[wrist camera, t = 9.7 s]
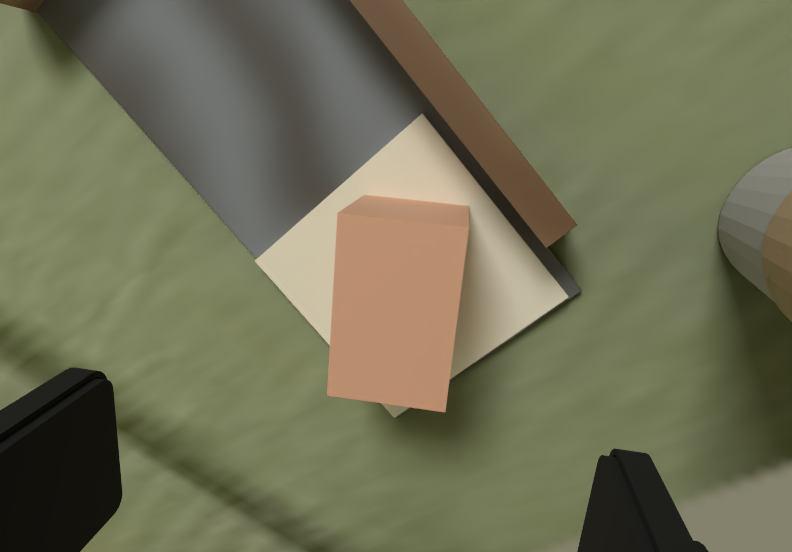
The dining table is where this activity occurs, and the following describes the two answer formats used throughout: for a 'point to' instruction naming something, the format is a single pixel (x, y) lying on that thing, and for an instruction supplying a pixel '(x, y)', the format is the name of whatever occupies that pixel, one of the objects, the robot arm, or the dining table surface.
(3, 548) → the robot arm
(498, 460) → the dining table surface
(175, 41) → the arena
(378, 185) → the pad
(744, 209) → the coffee cup
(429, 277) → the block
